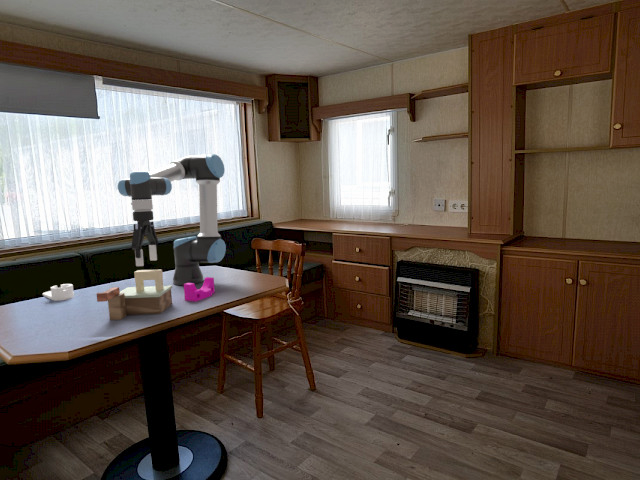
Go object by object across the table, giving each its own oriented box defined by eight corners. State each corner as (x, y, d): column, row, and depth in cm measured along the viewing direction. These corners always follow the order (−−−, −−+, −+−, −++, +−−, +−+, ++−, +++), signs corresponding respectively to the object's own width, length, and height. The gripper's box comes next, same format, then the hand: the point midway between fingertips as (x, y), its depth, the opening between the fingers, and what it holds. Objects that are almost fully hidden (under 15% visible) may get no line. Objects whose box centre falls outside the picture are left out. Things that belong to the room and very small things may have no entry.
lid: (128, 289, 181) (126, 268, 180) (172, 287, 181) (170, 266, 180) (111, 298, 167) (108, 275, 165) (159, 296, 166) (157, 273, 165)
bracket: (77, 299, 197) (75, 285, 197) (56, 303, 191) (54, 289, 190) (61, 293, 210) (59, 280, 209) (41, 297, 204) (39, 283, 203)
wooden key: (112, 293, 164) (111, 286, 164) (120, 293, 164) (119, 285, 164) (97, 301, 153) (96, 293, 153) (106, 301, 153) (105, 293, 153)
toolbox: (130, 305, 182) (128, 284, 181) (172, 304, 182) (170, 283, 181) (107, 319, 163) (105, 296, 161) (154, 318, 162) (152, 294, 161)
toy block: (195, 302, 185) (194, 285, 184) (184, 300, 188) (183, 284, 187) (218, 293, 198) (217, 278, 197) (208, 292, 201) (207, 277, 200)
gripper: (146, 209, 182) (150, 258, 185) (118, 212, 157) (123, 269, 160) (163, 209, 182) (167, 257, 184) (138, 212, 157) (143, 268, 160)
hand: (147, 263), depth 172 cm, fingers open, 13 cm apart
